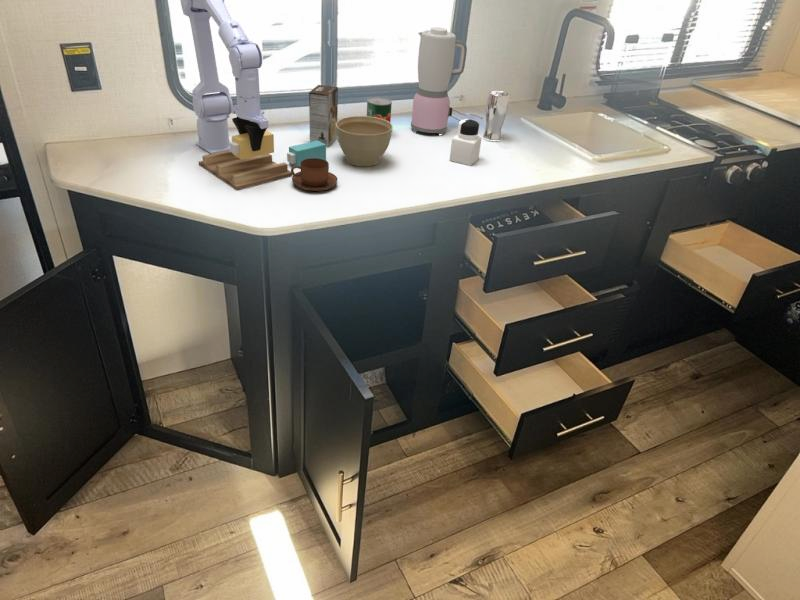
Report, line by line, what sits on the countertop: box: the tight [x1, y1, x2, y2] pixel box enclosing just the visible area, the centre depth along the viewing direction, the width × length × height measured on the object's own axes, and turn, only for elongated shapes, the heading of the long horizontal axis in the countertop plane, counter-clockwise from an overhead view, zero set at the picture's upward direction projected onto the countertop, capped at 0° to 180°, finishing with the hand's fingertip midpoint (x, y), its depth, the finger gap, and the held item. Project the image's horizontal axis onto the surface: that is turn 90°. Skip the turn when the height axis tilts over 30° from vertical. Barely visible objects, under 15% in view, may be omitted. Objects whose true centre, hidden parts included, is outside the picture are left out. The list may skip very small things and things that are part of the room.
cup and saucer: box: [290, 158, 338, 192], centre depth 159 cm, size 12×12×6 cm
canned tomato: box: [366, 96, 393, 123], centre depth 194 cm, size 8×8×11 cm
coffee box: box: [308, 84, 339, 148], centre depth 184 cm, size 9×6×16 cm
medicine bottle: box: [449, 118, 483, 166], centre depth 181 cm, size 7×7×12 cm
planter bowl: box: [336, 115, 393, 167], centre depth 174 cm, size 16×16×11 cm
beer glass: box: [482, 89, 510, 141], centre depth 198 cm, size 7×7×15 cm
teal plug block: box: [286, 140, 327, 167], centre depth 172 cm, size 4×11×5 cm, turn 133°
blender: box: [410, 27, 468, 135], centre depth 195 cm, size 16×12×32 cm
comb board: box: [198, 150, 293, 191], centre depth 164 cm, size 20×17×3 cm
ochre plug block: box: [229, 129, 275, 160], centre depth 158 cm, size 4×11×5 cm, turn 133°
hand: (251, 147), depth 158 cm, fingers closed on ochre plug block, 4 cm apart
